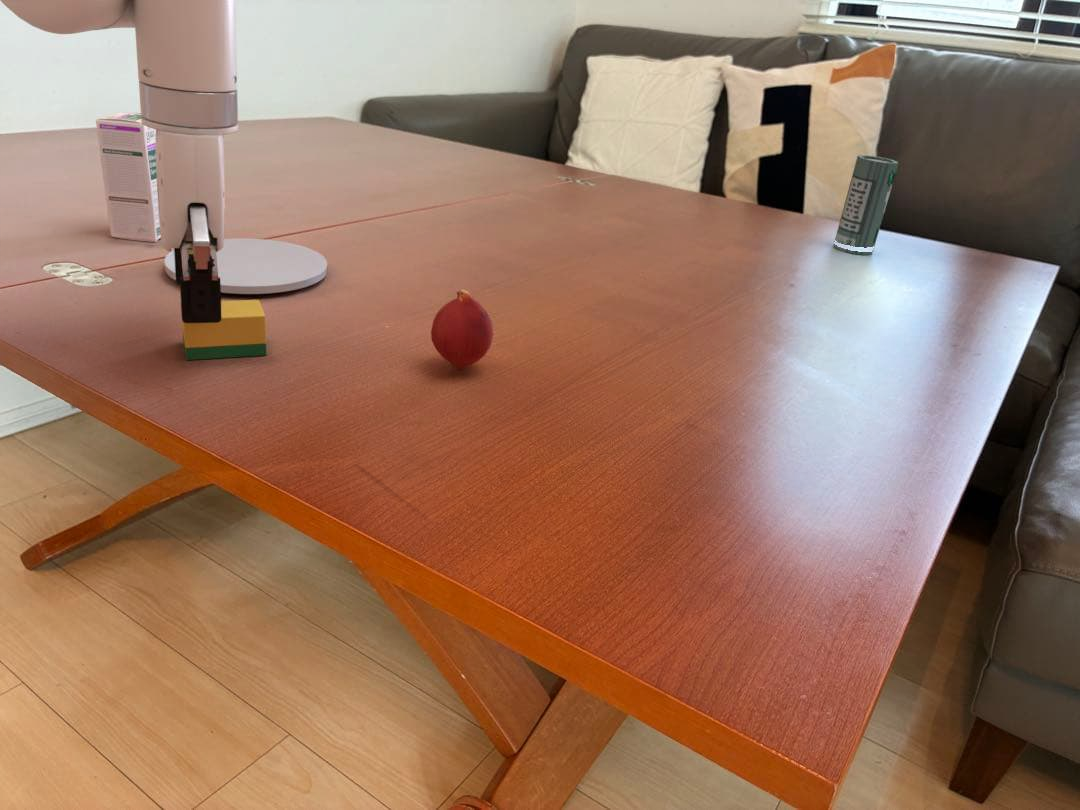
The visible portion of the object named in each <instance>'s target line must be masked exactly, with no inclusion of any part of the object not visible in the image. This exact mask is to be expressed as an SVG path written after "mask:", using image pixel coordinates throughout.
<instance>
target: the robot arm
mask: <svg viewBox="0 0 1080 810" xmlns="http://www.w3.org/2000/svg"><path fill="white" fill-rule="evenodd" d="M0 2H1V3H2V4H3V5H4V7H6V8H7V9H8V10H9V11H10V12H12V13H13V14H14V15H15V16H17V17H18V18H19V19H20V20H22V21H24V22H25V23H27V24H28V25H30V26H32V27H33V28H36V29H39V30H40V31H44V32H46V33H51V34H57V35H72V34H73V35H74V34H80V33H85V32H92V31H93V32H94V31H100V30H101V31H102V30H110V29H129V28H130V29H134V30H135V31H134V33H135V44H136V46H135V48H136V62H137V76H138V90H139V91H138V93H139V107H140V113H141V123H142V124H143V125H144V126H147V127H149V128H152V129H156V136H155V152H156V176H157V192H158V208H159V223H160V234H161V238H160V240H161V246H162V248H163V249H164V250H165V251H167V252H171V251H172V249H173V250H174V253H175V272H176V280H175V282H176V284H177V285H178V286H179V289H180V290H179V291H180V292H179V293H180V303H181V304H180V313H181V312H182V316H181V322H182V321H183V322H184V323H218V322H220V321H221V301H222V292H221V284H220V277H218V267H217V256H216V252H218V251H219V250H221V249H222V248H223V245H224V239H225V217H226V216H225V215H226V213H225V210H226V209H225V208H226V207H225V206H226V198H225V197H226V188H225V187H226V186H225V185H226V184H225V183H226V181H225V180H226V179H225V141H224V137H225V136H226V135H231V134H235V133H237V132H238V131H239V119H238V118H239V117H238V116H239V115H238V114H239V113H238V111H239V110H238V109H239V108H238V66H237V65H238V64H237V57H238V56H237V9H236V8H237V4H236V3H237V2H236V0H0ZM224 135H225V136H224ZM209 240H210V243H209Z"/></svg>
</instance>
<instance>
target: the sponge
mask: <svg viewBox="0 0 1080 810" xmlns="http://www.w3.org/2000/svg"><path fill="white" fill-rule="evenodd" d="M180 305H181V302H180ZM180 315H181V317H182V312H181V311H180ZM181 326H182V338H183V339H182V341H183V347H184V353H185V359H186V361H196V360H198V361H199V360H211V359H212V360H213V359H227V358H228V359H229V358H245V357H260V356H263V357H264V356H267V355H268V354H267V329H266V327H267V325H266V315H265V312H264V309H263V307H262V304H261V302H260V299H241V300H221V321H220V322H218V323H184V322H183V321H182V320H181Z"/></svg>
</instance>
